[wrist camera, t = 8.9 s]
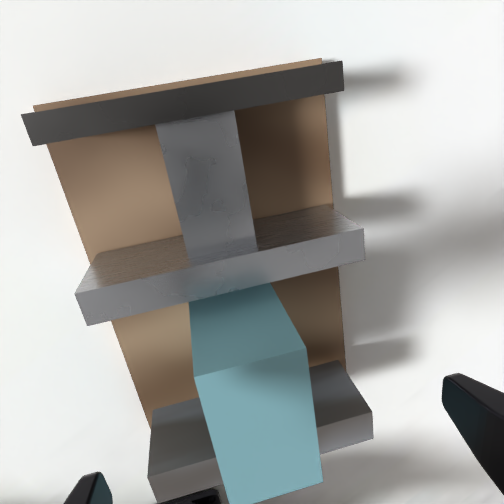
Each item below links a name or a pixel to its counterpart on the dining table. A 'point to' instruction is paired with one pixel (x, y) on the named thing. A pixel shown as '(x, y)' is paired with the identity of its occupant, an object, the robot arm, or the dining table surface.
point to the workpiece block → (255, 394)
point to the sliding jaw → (204, 197)
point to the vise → (177, 317)
